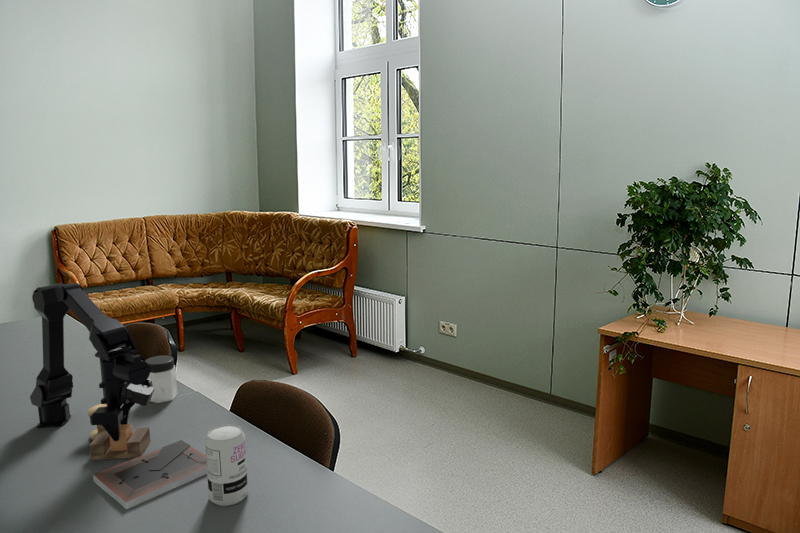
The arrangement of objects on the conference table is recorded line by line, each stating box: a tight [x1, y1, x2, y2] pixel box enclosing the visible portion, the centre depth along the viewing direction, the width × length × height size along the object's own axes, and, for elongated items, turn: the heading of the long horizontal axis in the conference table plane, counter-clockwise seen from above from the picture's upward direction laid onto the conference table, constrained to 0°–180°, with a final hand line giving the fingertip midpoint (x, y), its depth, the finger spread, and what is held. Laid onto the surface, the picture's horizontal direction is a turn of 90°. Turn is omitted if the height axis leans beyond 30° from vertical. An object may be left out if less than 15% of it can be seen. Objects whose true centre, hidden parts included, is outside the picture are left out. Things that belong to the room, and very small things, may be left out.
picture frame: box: [92, 439, 207, 510], centre depth 140 cm, size 16×2×22 cm
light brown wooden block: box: [109, 423, 133, 451], centre depth 150 cm, size 4×4×5 cm
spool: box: [87, 403, 107, 441], centre depth 158 cm, size 7×7×8 cm
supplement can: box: [204, 424, 249, 507], centre depth 130 cm, size 8×8×15 cm
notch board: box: [89, 426, 151, 461], centre depth 151 cm, size 12×8×4 cm
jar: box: [144, 355, 178, 404], centre depth 182 cm, size 9×8×12 cm
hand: (120, 435), depth 150 cm, fingers open, 5 cm apart
